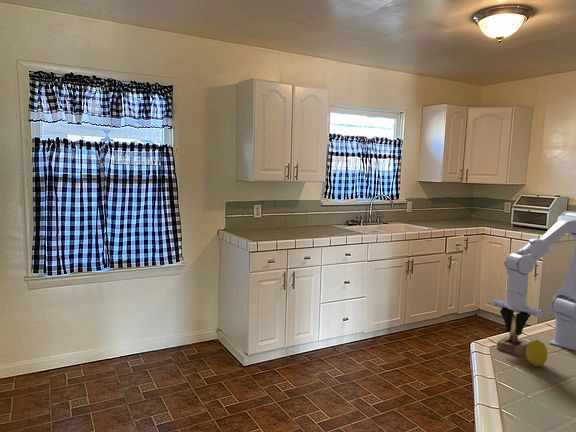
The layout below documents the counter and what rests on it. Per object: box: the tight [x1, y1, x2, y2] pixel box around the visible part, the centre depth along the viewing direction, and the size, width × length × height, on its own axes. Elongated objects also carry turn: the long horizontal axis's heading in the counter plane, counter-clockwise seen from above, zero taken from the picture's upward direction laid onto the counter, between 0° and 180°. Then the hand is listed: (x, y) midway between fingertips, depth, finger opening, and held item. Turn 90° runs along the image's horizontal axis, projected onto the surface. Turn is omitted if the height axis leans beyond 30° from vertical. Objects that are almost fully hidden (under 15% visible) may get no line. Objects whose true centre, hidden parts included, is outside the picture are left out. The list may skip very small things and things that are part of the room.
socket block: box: [496, 336, 530, 357], centre depth 140 cm, size 7×7×2 cm
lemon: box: [525, 339, 548, 368], centre depth 128 cm, size 6×6×8 cm
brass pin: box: [508, 314, 519, 342], centre depth 140 cm, size 2×2×8 cm
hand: (514, 333), depth 140 cm, fingers closed on brass pin, 2 cm apart
